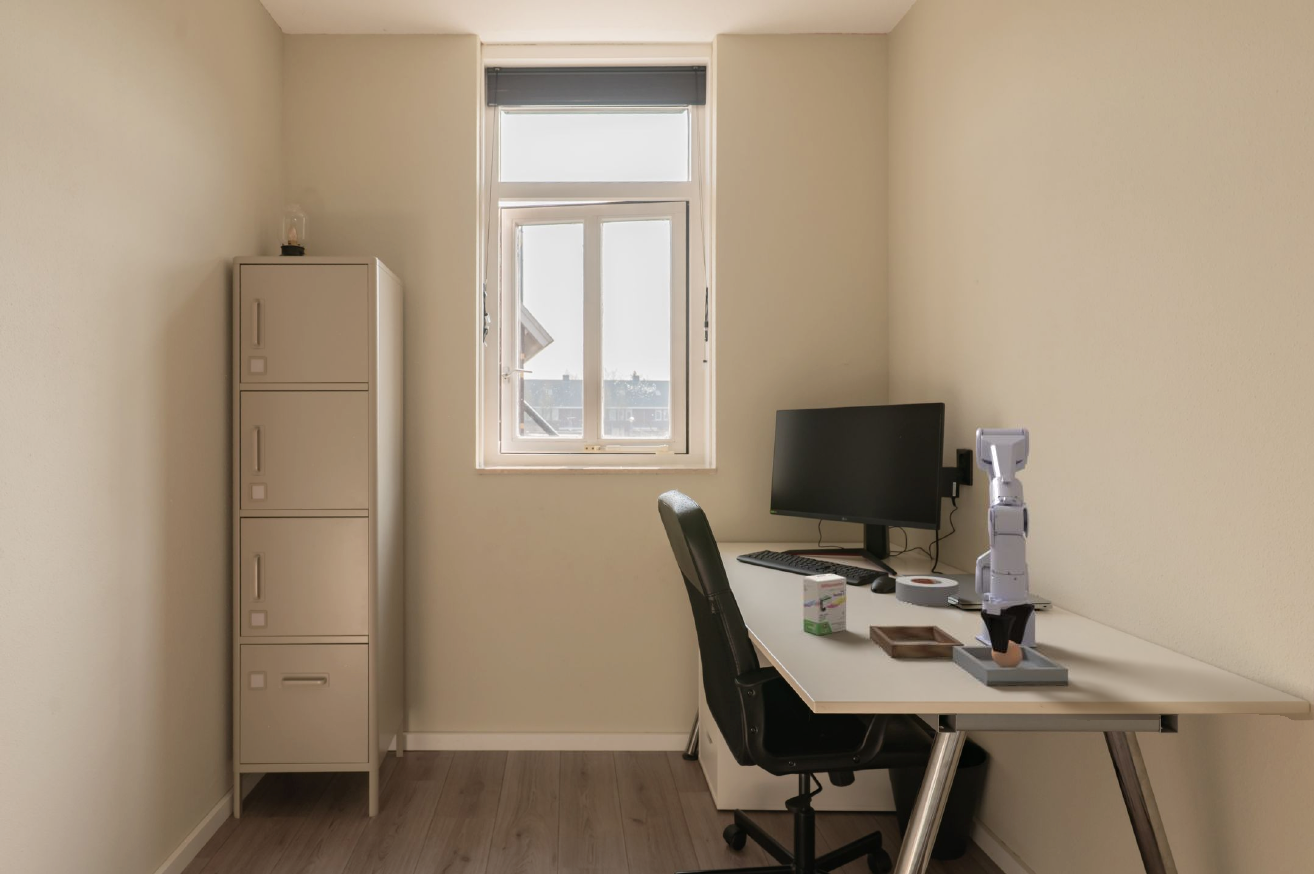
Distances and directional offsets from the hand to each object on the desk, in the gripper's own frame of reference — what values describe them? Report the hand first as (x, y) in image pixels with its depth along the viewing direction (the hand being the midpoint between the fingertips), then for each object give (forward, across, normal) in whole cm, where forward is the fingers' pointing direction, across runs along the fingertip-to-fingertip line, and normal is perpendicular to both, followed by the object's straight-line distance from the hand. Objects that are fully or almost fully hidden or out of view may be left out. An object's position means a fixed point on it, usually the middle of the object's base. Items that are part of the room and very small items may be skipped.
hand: (1007, 647), depth 135 cm
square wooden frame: (+4, -4, -19) cm, 20 cm away
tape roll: (+5, -47, -36) cm, 59 cm away
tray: (+4, 0, 0) cm, 5 cm away
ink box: (+5, -2, -39) cm, 39 cm away
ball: (+1, 0, 0) cm, 1 cm away
